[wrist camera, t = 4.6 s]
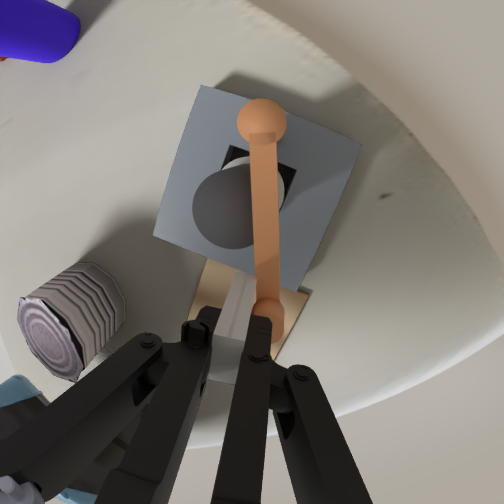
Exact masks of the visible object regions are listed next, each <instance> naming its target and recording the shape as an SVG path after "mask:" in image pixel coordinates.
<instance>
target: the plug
mask: <svg viewBox="0 0 504 504" xmlns="http://www.w3.org/2000/svg"><path fill="white" fill-rule="evenodd" d="M278 193H279V209H280V207H281V205H282V202H283V198H284V183H283V180H282V177H281V175H280V173H279V172H278ZM192 213H193V218H194V222H195V224H196V226H197V228H198V230H199V231H200V233H201V234H202V235H203V236H204V237H205V238H206V239H207V240H208V241H209V242H211V243H213V244H214V245H216V246H218V247H221V248H225V249H242V248H246V247H249V246H251V245H253V244H254V237H253V214H252V193H251V171H250V157H241V158H238V159H235V160H233V161H231V162H229V163H228V164H227V165H226V166H225V167H224V168H223V169H222V170H221V171H218V172H215V173H213V174H211V175H210V176H208V177H207V178H206V179H205V180H204V181H203V182H202V183H201V184H200V185H199V187H198V188H197V190H196V192H195V195H194V198H193V203H192Z"/></svg>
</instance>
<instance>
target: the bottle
mask: <svg viewBox="0 0 504 504" xmlns="http://www.w3.org/2000/svg"><path fill="white" fill-rule="evenodd" d="M79 31H80V23H79V19H78V18H77V17H76V16H75V15H74V14H72V13H71V12H69V11H67V10H65V9H63V8H61V7H59V6H57V5H55V4H53V3H51V2H48V1H46V0H0V56H2V57H9V58H15V59H22V60H28V61H34V62H41V63H53V62H56V61H58V60H60V59H61V58H63V57H64V56H65V55H66V54H67V53H68V52H69V51H70V50H71V48H72V47H73V45H74V44H75V42H76V40H77V38H78V35H79Z"/></svg>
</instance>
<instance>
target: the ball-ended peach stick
mask: <svg viewBox="0 0 504 504" xmlns="http://www.w3.org/2000/svg"><path fill="white" fill-rule="evenodd" d="M237 127H238V130H239V133H240V134H241V136H242V137H243V138H244V139H245V140H246V141H248V142H249V149H250V171H251V193H252V214H253V237H254V259H255V279H257V283H256V302H255V304H254V305H253V307H252V312H251V314H252V315H258V316H263V317H268V318H269V319H270V320H271V322H272V338H271V344H272V343H275V342H277V341H279V340H280V339H281V338H282V336H283V334H284V317H285V310H284V307H283V305H282V304H281V302H280V235H279V193H278V162H277V142H278V141H279V140H280V139H281V138H282V137H283V135H284V133H285V131H286V127H287V119H286V115H285V112H284V110H283V109H282V108H281V106H280V105H279V104H277V103H276V102H274V101H272V100H269V99H264V98H259V99H254V100H251V101H249V102H248V103H246V104H245V105H244V106H243V107H242V108H241V110H240V111H239V114H238V117H237Z"/></svg>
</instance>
